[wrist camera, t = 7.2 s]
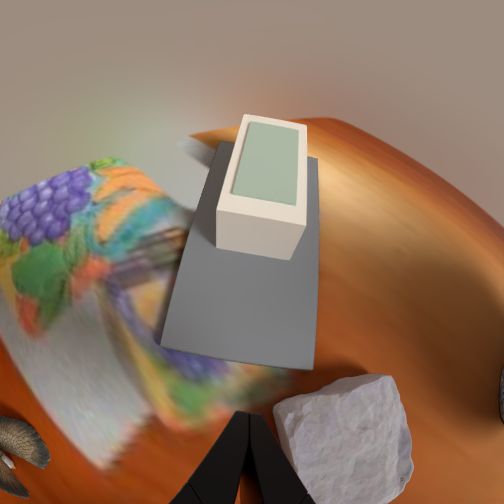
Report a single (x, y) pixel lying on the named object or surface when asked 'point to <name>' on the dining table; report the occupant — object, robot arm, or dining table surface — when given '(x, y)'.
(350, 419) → the stone block
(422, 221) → the dining table surface
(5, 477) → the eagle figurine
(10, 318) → the dining table surface
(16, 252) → the dining table surface
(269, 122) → the tall block
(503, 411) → the decorative vase
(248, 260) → the mat
